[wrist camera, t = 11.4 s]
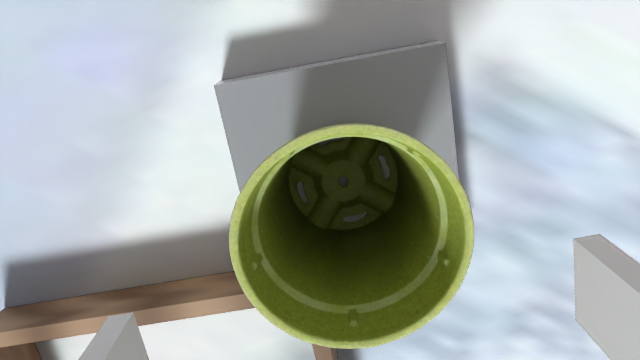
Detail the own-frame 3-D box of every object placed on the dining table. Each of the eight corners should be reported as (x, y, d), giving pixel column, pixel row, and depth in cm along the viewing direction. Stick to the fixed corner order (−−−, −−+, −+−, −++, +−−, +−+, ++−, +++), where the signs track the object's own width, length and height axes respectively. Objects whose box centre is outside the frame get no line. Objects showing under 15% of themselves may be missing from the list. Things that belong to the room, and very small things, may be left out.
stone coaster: (266, 270, 31) (262, 286, 30) (221, 80, 28) (213, 85, 26) (457, 239, 31) (466, 254, 29) (436, 40, 27) (445, 42, 25)
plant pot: (230, 125, 26) (188, 175, 18) (400, 65, 26) (438, 88, 17) (291, 273, 29) (280, 375, 21) (447, 224, 28) (500, 310, 20)
